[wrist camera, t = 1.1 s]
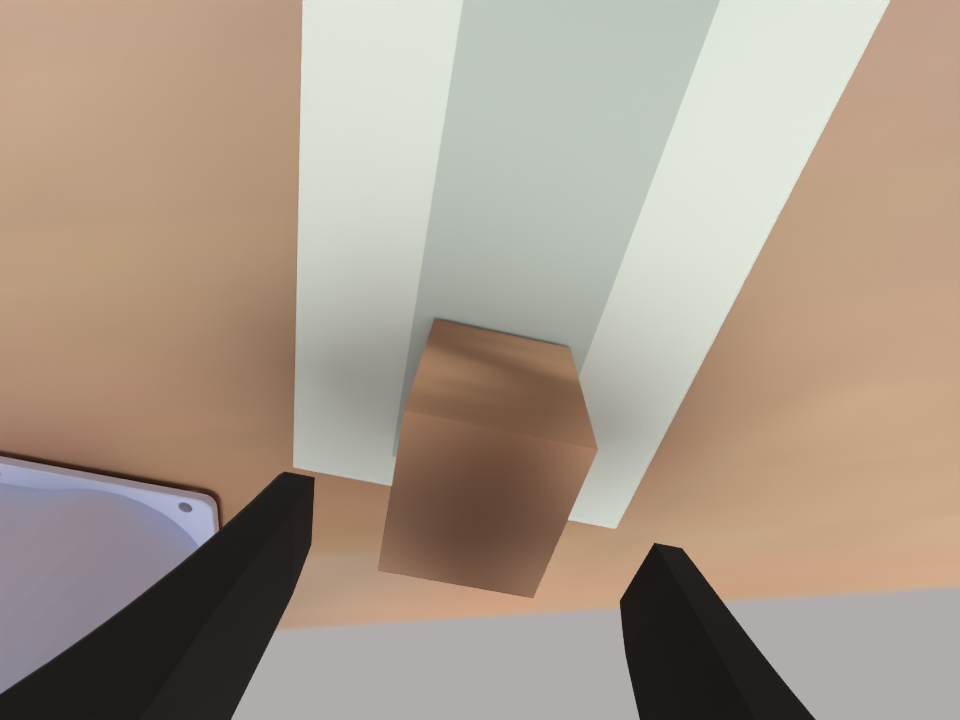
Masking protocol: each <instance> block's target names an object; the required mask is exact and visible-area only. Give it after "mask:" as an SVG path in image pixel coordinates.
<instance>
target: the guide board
mask: <svg viewBox="0 0 960 720" xmlns="http://www.w3.org/2000/svg"><path fill="white" fill-rule="evenodd" d="M889 2H890V0H303V13H302V61H301V109H300V157H299V205H298V252H297V300H296V348H295V396H294V444H293V468H299V469H304V470H309V471H314V472H320V473H325V474H330V475H335V476H341V477H346V478H351V479H356V480H362V481H367V482H372V483H377V484H383V485H388V486H392V481H393V475H394V469H395V463H396V456H397V450H398V444H399V438H400V432H401V426H402V420H403V414H404V409H405V406H406V403H407V400H408V397H409V394H410V391H411V388H412V385H413V382H414V379H415V376H416V373H417V369H418V366H419V363H420V360H421V357H422V354H423V351H424V348H425V345H426V342H427V339H428V336H429V333H430V330H431V327H432V324H433V321H434V319H438V320H442V321H447V322H452V323H456V324H461V325H466V326H470V327H475V328H480V329H484V330H489V331H494V332H498V333H503V334H507V335H512V336H517V337H521V338H526V339H531V340H535V341H540V342H545V343H549V344H554V345H559V346H563V347H568V348H570V349H571V352H572V356H573V359H574V363H575V367H576V370H577V374H578V378H579V381H580V385H581V389H582V392H583V396H584V400H585V403H586V407H587V411H588V414H589V418H590V422H591V425H592V429H593V433H594V436H595V440H596V444H597V447H598V451H597V453H596V456H595V458H594V460H593V463H592V465H591V467H590V469H589V472H588V474H587V476H586V479H585V481H584V483H583V485H582V488H581V490H580V492H579V495H578V497H577V499H576V501H575V504H574V506H573V508H572V510H571V513H570V515H569V517H568V520H571V521H577V522H582V523H587V524H592V525H598V526H603V527H608V528H613V529H616V528H617V526H618V524H619V522H620V520H621V518H622V516H623V514H624V512H625V510H626V508H627V506H628V505H629V503H630V501H631V499H632V497H633V495H634V493H635V491H636V489H637V487H638V485H639V483H640V481H641V480H642V478H643V476H644V474H645V472H646V470H647V468H648V466H649V464H650V462H651V460H652V458H653V456H654V454H655V453H656V451H657V449H658V447H659V445H660V443H661V441H662V439H663V437H664V435H665V433H666V431H667V429H668V428H669V426H670V424H671V422H672V420H673V418H674V416H675V414H676V412H677V410H678V408H679V406H680V404H681V403H682V401H683V399H684V397H685V395H686V393H687V391H688V389H689V387H690V385H691V383H692V381H693V379H694V377H695V376H696V374H697V372H698V370H699V368H700V366H701V364H702V362H703V360H704V358H705V356H706V354H707V352H708V351H709V349H710V347H711V345H712V343H713V341H714V339H715V337H716V335H717V333H718V331H719V329H720V327H721V325H722V324H723V322H724V320H725V318H726V316H727V314H728V312H729V310H730V308H731V306H732V304H733V302H734V300H735V299H736V297H737V295H738V293H739V291H740V289H741V287H742V285H743V283H744V281H745V279H746V277H747V275H748V273H749V272H750V270H751V268H752V266H753V264H754V262H755V260H756V258H757V256H758V254H759V252H760V250H761V248H762V247H763V245H764V243H765V241H766V239H767V237H768V235H769V233H770V231H771V229H772V227H773V225H774V223H775V222H776V220H777V218H778V216H779V214H780V212H781V210H782V208H783V206H784V204H785V202H786V200H787V198H788V196H789V195H790V193H791V191H792V189H793V187H794V185H795V183H796V181H797V179H798V177H799V175H800V173H801V171H802V170H803V168H804V166H805V164H806V162H807V160H808V158H809V156H810V154H811V152H812V150H813V148H814V146H815V144H816V143H817V141H818V139H819V137H820V135H821V133H822V131H823V129H824V127H825V125H826V123H827V121H828V119H829V118H830V116H831V114H832V112H833V110H834V108H835V106H836V104H837V102H838V100H839V98H840V96H841V94H842V93H843V91H844V89H845V87H846V85H847V83H848V81H849V79H850V77H851V75H852V73H853V71H854V69H855V67H856V66H857V64H858V62H859V60H860V58H861V56H862V54H863V52H864V50H865V48H866V46H867V44H868V42H869V41H870V39H871V37H872V35H873V33H874V31H875V29H876V27H877V25H878V23H879V21H880V19H881V17H882V15H883V14H884V12H885V10H886V8H887V6H888V4H889Z"/></svg>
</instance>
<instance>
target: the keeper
mask: <svg viewBox="0 0 960 720" xmlns="http://www.w3.org/2000/svg"><path fill="white" fill-rule="evenodd" d="M597 451H598V447H597V444H596V440H595V436H594V433H593V429H592V425H591V422H590V418H589V414H588V411H587V407H586V403H585V400H584V396H583V392H582V389H581V385H580V381H579V378H578V374H577V370H576V367H575V363H574V359H573V356H572V352H571V349H570V348H568V347H563V346H559V345H554V344H549V343H545V342H540V341H535V340H531V339H526V338H521V337H517V336H512V335H507V334H503V333H498V332H494V331H489V330H484V329H480V328H475V327H470V326H466V325H461V324H456V323H452V322H447V321H442V320H438V319H434V321H433V324H432V327H431V330H430V333H429V336H428V339H427V342H426V345H425V348H424V351H423V354H422V357H421V360H420V363H419V366H418V369H417V373H416V376H415V379H414V382H413V385H412V388H411V391H410V394H409V397H408V400H407V403H406V406H405V409H404V414H403V420H402V426H401V432H400V438H399V444H398V450H397V456H396V463H395V469H394V475H393V481H392V487H391V493H390V499H389V505H388V511H387V518H386V524H385V530H384V536H383V542H382V548H381V554H380V560H379V566H378V571H384V572H389V573H395V574H400V575H406V576H412V577H417V578H423V579H428V580H434V581H440V582H445V583H451V584H456V585H462V586H468V587H473V588H479V589H484V590H490V591H496V592H501V593H507V594H512V595H518V596H523V597H529V598H533V597H534V595H535V593H536V590H537V588H538V586H539V583H540V581H541V579H542V577H543V574H544V572H545V570H546V567H547V565H548V563H549V561H550V558H551V556H552V554H553V551H554V549H555V547H556V545H557V542H558V540H559V538H560V536H561V533H562V531H563V529H564V526H565V524H566V522H567V520H568V517H569V515H570V513H571V510H572V508H573V506H574V504H575V501H576V499H577V497H578V495H579V492H580V490H581V488H582V485H583V483H584V481H585V479H586V476H587V474H588V472H589V469H590V467H591V465H592V463H593V460H594V458H595V456H596V453H597Z"/></svg>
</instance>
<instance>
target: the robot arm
mask: <svg viewBox="0 0 960 720" xmlns="http://www.w3.org/2000/svg"><path fill="white" fill-rule="evenodd" d="M314 480H315V477H310V476H305V475H299V474H294V473H289V472H283V473H281V474H279V475H278V476H277V477H276V478H275V479H274V480H273V481H272V482H271V483H270V484H269V485H268V486H267V487H266V488H265V489H264V490H263V491H262V492H261V493H260V494H259V495H258V496H256V497H255V498H254V499H253V500H252V501H251V502H250V503H249V504H248V505H247V506H246V507H245V508H244V509H242V510H241V511H240V512H239V513H238V514H237V515H236V516H235V517H234V518H233V519H231V520H230V521H229V522H228V523H227V524H226V525H225V526H224V527H222V528H221V529H220V530H219V523H218V512H217V504H216V502H215V500H214V499H213V498H212V497H210V496H209V495H206V494H202V493H196V492H191V491H186V490H180V489H175V488H169V487H164V486H159V485H153V484H148V483H142V482H137V481H132V480H126V479H121V478H115V477H110V476H104V475H99V474H94V473H88V472H83V471H77V470H72V469H67V468H61V467H56V466H50V465H45V464H40V463H34V462H29V461H23V460H18V459H13V458H7V457H2V456H0V720H231V718H232V716H233V714H234V712H235V710H236V708H237V706H238V704H239V702H240V700H241V698H242V696H243V694H244V692H245V690H246V688H247V686H248V684H249V682H250V680H251V678H252V676H253V674H254V672H255V670H256V668H257V665H258V664H259V662H260V660H261V657H262V656H263V654H264V652H265V650H266V648H267V645H268V643H269V641H270V639H271V637H272V635H273V633H274V631H275V629H276V627H277V625H278V623H279V621H280V619H281V617H282V615H283V613H284V611H285V609H286V607H287V605H288V603H289V601H290V599H291V597H292V594H293V592H294V589H295V587H296V584H297V581H298V579H299V576H300V574H301V571H302V568H303V565H304V563H305V560H306V557H307V555H308V552H309V549H310V546H311V540H312V520H313V500H314ZM620 609H621V619H622V629H623V638H624V646H625V654H626V659H627V664H628V668H629V673H630V678H631V682H632V686H633V691H634V696H635V700H636V704H637V709H638V713H639V718H640V720H815V719H814V717H813V716H812V715H811V714H810V713H809V711H808V710H807V709H806V708H805V707H804V705H803V704H802V703H801V702H800V701H799V699H798V698H797V697H796V696H795V694H794V693H793V692H792V691H791V690H790V689H789V687H788V686H787V685H786V683H785V682H784V681H783V680H782V679H781V677H780V676H779V675H778V673H777V672H776V671H775V670H774V668H773V667H772V666H771V665H770V664H769V662H768V661H767V660H766V658H765V657H764V656H763V654H762V653H761V652H760V651H759V649H758V648H757V647H756V646H755V644H754V643H753V642H752V640H751V639H750V638H749V636H748V635H747V634H746V632H745V631H744V630H743V628H742V627H741V626H740V624H739V623H738V622H737V621H736V619H735V618H734V616H733V615H732V614H731V613H730V611H729V610H728V608H727V607H726V606H725V604H724V603H723V602H722V600H721V599H720V598H719V596H718V595H717V594H716V592H715V591H714V590H713V588H712V587H711V586H710V584H709V583H708V582H707V580H706V579H705V578H704V576H703V575H702V574H701V572H700V571H699V570H698V568H697V567H696V566H695V564H694V563H693V562H692V560H691V559H690V558H689V557H688V555H687V554H686V553H685V552H684V550H683V549H682V548H678V547H673V546H667V545H662V544H657V543H654V545H653V546H652V548H651V550H650V551H649V553H648V555H647V556H646V558H645V560H644V561H643V563H642V565H641V566H640V568H639V570H638V571H637V573H636V575H635V576H634V578H633V580H632V582H631V583H630V585H629V587H628V588H627V590H626V592H625V593H624V595H623V597H622V598H621V600H620Z"/></svg>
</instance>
